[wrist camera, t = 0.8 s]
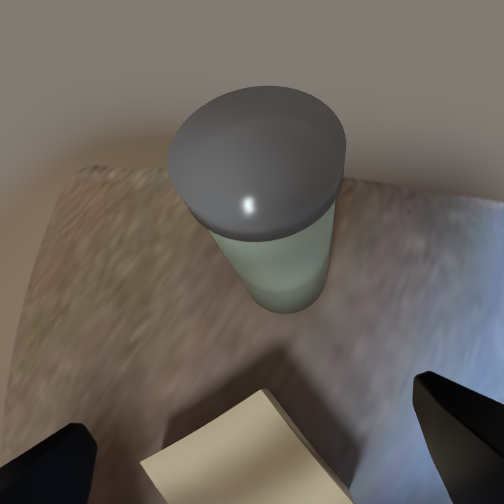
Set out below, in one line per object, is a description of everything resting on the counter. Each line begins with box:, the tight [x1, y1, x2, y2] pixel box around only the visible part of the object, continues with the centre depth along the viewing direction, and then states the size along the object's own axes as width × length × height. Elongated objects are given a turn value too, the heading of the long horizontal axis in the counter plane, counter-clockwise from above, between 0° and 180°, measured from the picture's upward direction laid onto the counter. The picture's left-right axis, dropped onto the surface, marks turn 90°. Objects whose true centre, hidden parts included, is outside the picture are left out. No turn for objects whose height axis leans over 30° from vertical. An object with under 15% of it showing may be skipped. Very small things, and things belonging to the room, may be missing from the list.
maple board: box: [140, 388, 354, 504], centre depth 15 cm, size 9×9×3 cm
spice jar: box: [168, 86, 346, 314], centre depth 16 cm, size 6×6×13 cm
